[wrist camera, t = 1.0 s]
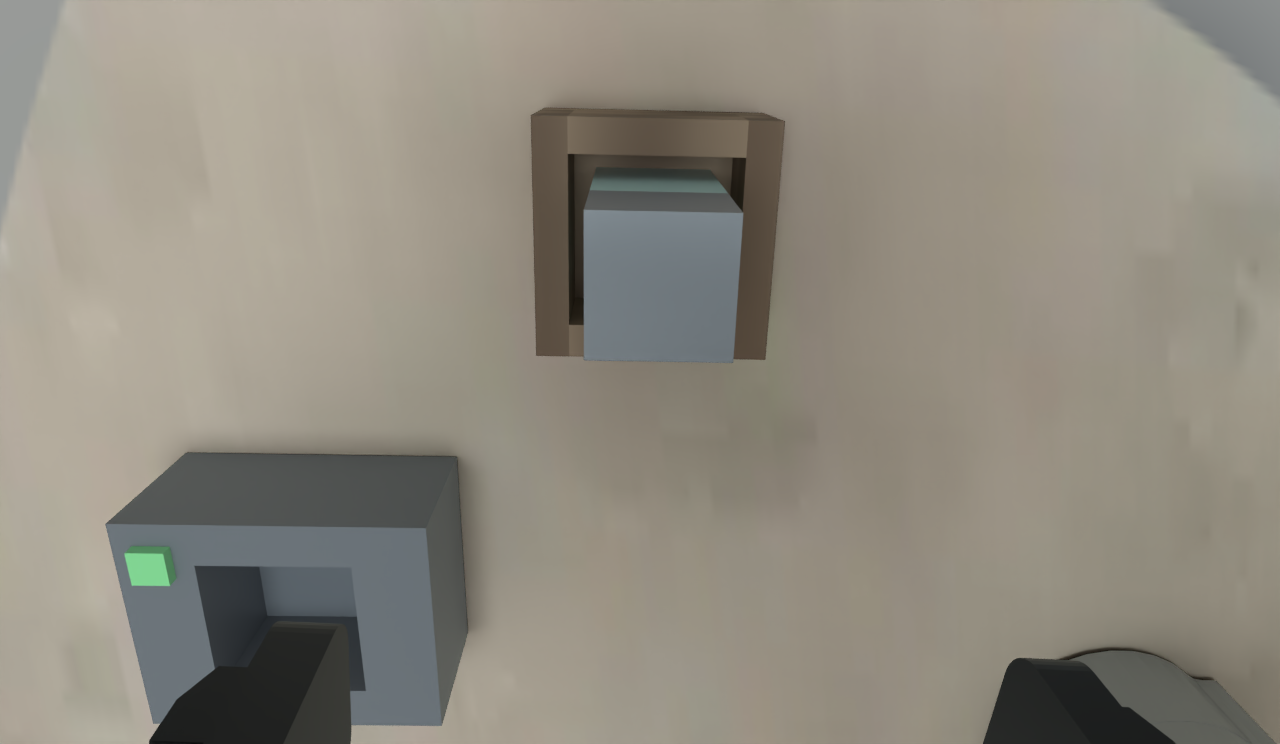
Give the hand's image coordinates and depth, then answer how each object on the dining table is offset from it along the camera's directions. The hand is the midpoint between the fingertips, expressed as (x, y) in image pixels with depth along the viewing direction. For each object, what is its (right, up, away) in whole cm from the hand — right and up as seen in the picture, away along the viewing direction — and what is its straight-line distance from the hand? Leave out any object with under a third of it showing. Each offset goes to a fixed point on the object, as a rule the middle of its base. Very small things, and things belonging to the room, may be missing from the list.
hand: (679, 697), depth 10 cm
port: (-12, -3, +22) cm, 25 cm away
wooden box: (0, +9, +18) cm, 20 cm away
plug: (0, +9, +17) cm, 19 cm away
